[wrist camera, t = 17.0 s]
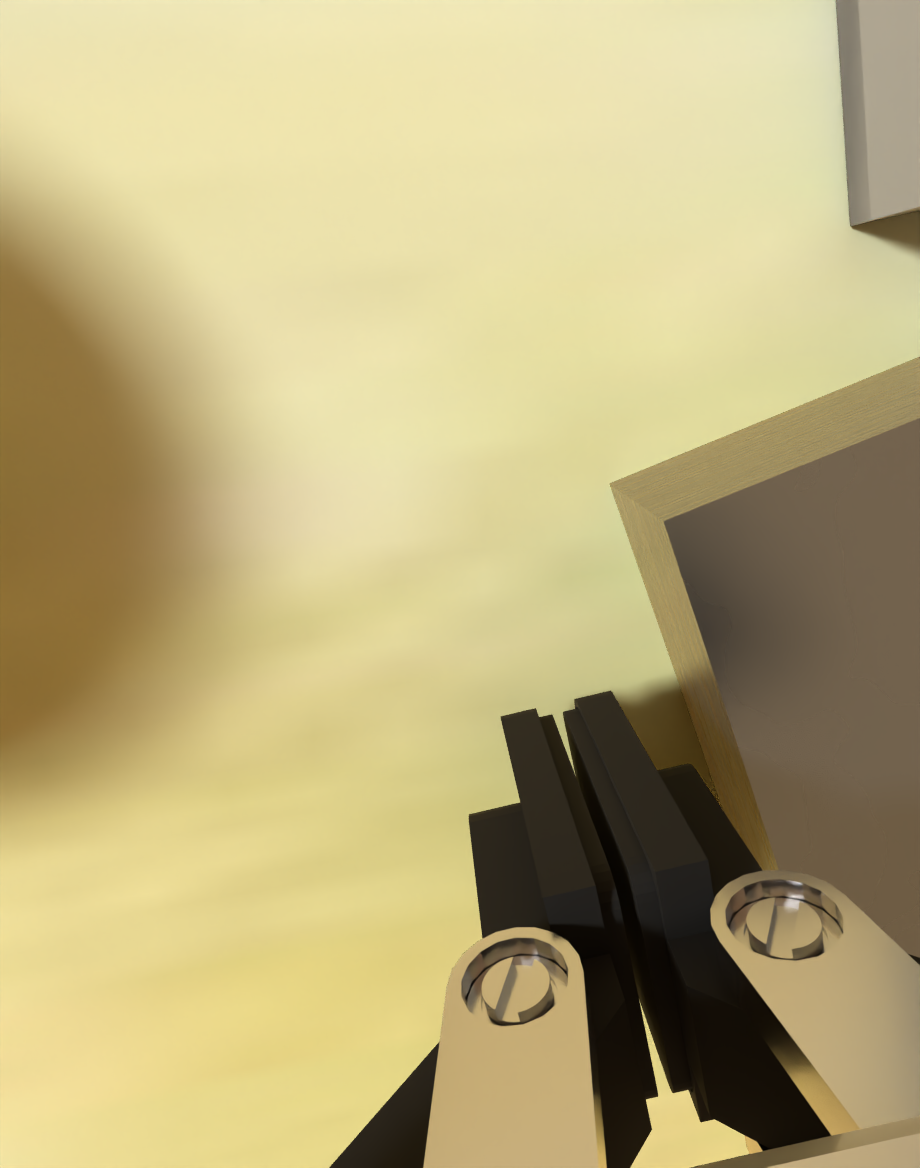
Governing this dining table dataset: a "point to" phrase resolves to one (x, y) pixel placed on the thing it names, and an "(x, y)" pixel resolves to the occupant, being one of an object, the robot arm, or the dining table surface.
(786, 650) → the grey rectangular block
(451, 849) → the dining table surface
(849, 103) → the tray
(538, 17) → the dining table surface
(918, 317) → the dining table surface
